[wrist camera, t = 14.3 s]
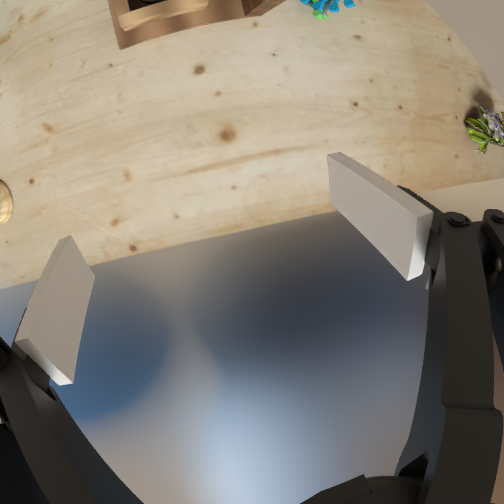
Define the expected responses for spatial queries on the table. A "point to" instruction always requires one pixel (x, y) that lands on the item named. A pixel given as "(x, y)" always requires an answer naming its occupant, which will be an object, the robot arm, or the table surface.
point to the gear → (326, 7)
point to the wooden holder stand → (177, 16)
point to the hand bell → (5, 203)
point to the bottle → (152, 1)
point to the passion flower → (494, 123)
